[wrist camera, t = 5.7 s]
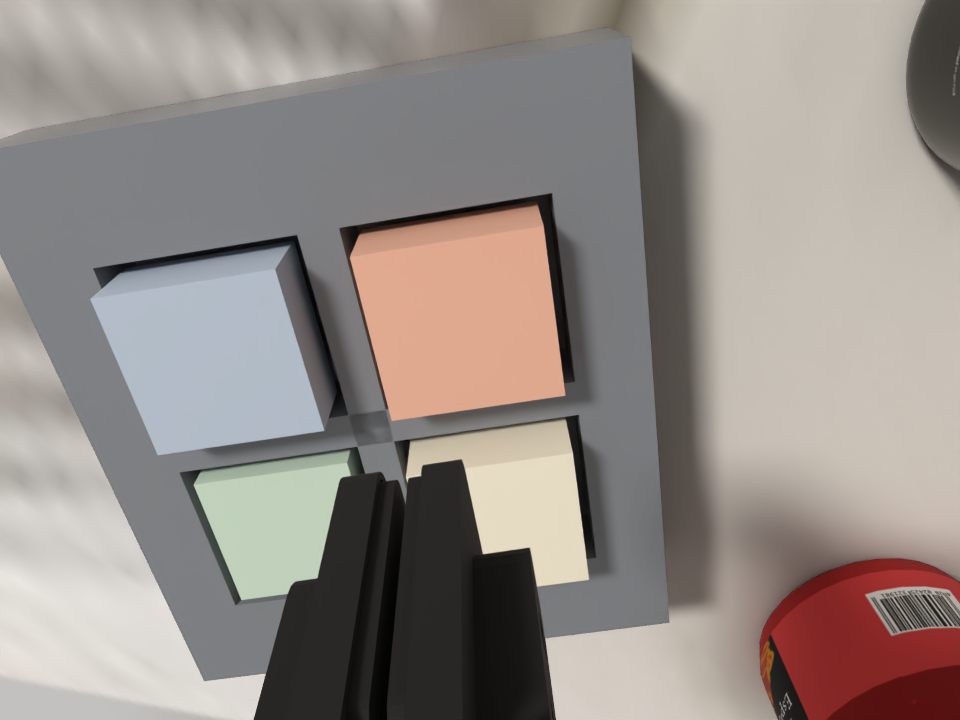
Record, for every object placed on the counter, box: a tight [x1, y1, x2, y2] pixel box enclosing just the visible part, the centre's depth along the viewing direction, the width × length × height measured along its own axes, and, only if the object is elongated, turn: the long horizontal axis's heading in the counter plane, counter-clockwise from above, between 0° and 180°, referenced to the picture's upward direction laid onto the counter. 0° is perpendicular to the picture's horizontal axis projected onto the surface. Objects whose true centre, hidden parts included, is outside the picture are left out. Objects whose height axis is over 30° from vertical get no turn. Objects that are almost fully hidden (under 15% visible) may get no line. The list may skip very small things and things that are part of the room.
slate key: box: [90, 241, 337, 455], centre depth 19 cm, size 4×4×2 cm
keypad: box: [0, 27, 669, 681], centre depth 21 cm, size 17×15×3 cm
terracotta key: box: [350, 201, 565, 421], centre depth 18 cm, size 4×4×2 cm
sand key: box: [406, 417, 589, 587], centre depth 21 cm, size 4×4×2 cm
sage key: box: [194, 447, 365, 600], centre depth 22 cm, size 4×4×2 cm
